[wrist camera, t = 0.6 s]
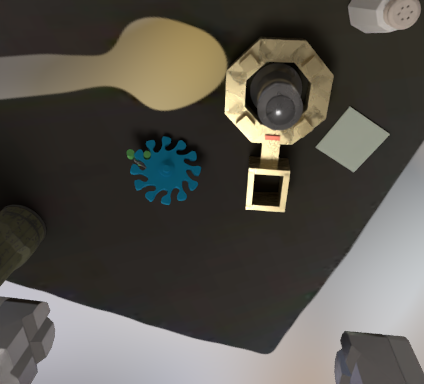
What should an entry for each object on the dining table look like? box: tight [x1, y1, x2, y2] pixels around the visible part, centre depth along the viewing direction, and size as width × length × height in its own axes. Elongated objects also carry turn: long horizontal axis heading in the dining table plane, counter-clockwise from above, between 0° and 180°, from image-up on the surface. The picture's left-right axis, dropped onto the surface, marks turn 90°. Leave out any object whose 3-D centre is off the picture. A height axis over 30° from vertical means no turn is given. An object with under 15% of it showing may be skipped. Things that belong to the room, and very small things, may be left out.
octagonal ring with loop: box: [225, 37, 334, 212], centre depth 48 cm, size 23×13×4 cm, turn 179°
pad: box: [316, 106, 390, 172], centre depth 50 cm, size 7×7×1 cm
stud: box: [250, 63, 303, 130], centre depth 43 cm, size 7×7×10 cm
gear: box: [127, 137, 201, 205], centre depth 53 cm, size 11×6×10 cm
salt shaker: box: [348, 0, 421, 33], centre depth 37 cm, size 5×5×11 cm
